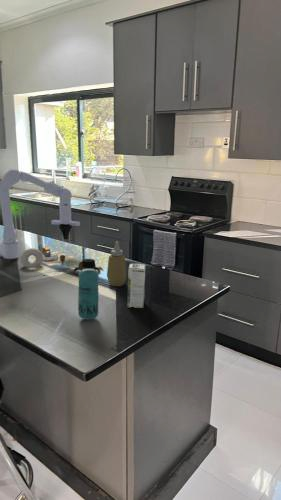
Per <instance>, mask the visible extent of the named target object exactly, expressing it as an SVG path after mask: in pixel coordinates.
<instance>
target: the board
mask: <svg viewBox="0 0 281 500" xmlns="http://www.w3.org/2000/svg"><path fill="white" fill-rule="evenodd" d="M44 252H45V246H44V247H41V253H42V254H44ZM51 254H57V255H58V259H56V260H52V261H43V262H42V264H45V265H46V266H49V267H50V266H55V265H56V266H57V265H60V264H62V262H61V261H60V255H65V261H64V264H65V263H70V262H71V263H72V262H75V261H80V260H81V258H80V259H79V258H77V257H76V256H73V255H69V254H67V253H63V252H60V251H54V252H51ZM29 258H30V259H32V260H34V261H35V260H36V257H35V256H33V255H32V256H29Z"/></svg>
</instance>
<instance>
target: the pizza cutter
mask: <svg viewBox="0 0 281 500" xmlns="http://www.w3.org/2000/svg"><path fill="white" fill-rule="evenodd" d="M44 248H45V252H44V254H42V255H43V261H52V260H56V259H58V255H57V254H51V253H52V252H51V247H50V246H44Z"/></svg>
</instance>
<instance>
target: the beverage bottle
mask: <svg viewBox="0 0 281 500" xmlns="http://www.w3.org/2000/svg"><path fill="white" fill-rule="evenodd" d="M81 262H82V267H83V268H94V267H96V259H92V258H84V259H82V261H81ZM78 273H79V274H78V275H77V276H78V289H77V290H78V297H77V298H78V299H77V300H78V301H77V303H78V304H77V305H78V307H77V311H78V317H79V318H81V319H84V320H93V319H95V318H97V317H98V316H99V311H100V309H99V293H100V291H99V274H100V273H98V272H97V270H95V269H83V270H81V271H80V270H79V272H78Z"/></svg>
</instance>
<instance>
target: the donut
mask: <svg viewBox="0 0 281 500" xmlns="http://www.w3.org/2000/svg"><path fill="white" fill-rule="evenodd" d="M30 256H35V257H36V260H35V259H34V261H30V260H29V258H30ZM42 262H43V255H42V251H40V250H39V249H37V248H35V247H34V248H33V247H30V248H26V249H25V250H24V251H23V252H22V253H21V255H20V264H21V265H22V267H24V268H26V269H27V268H29V269H30V268H39V267H40V266H42V265H43V263H42Z"/></svg>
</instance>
